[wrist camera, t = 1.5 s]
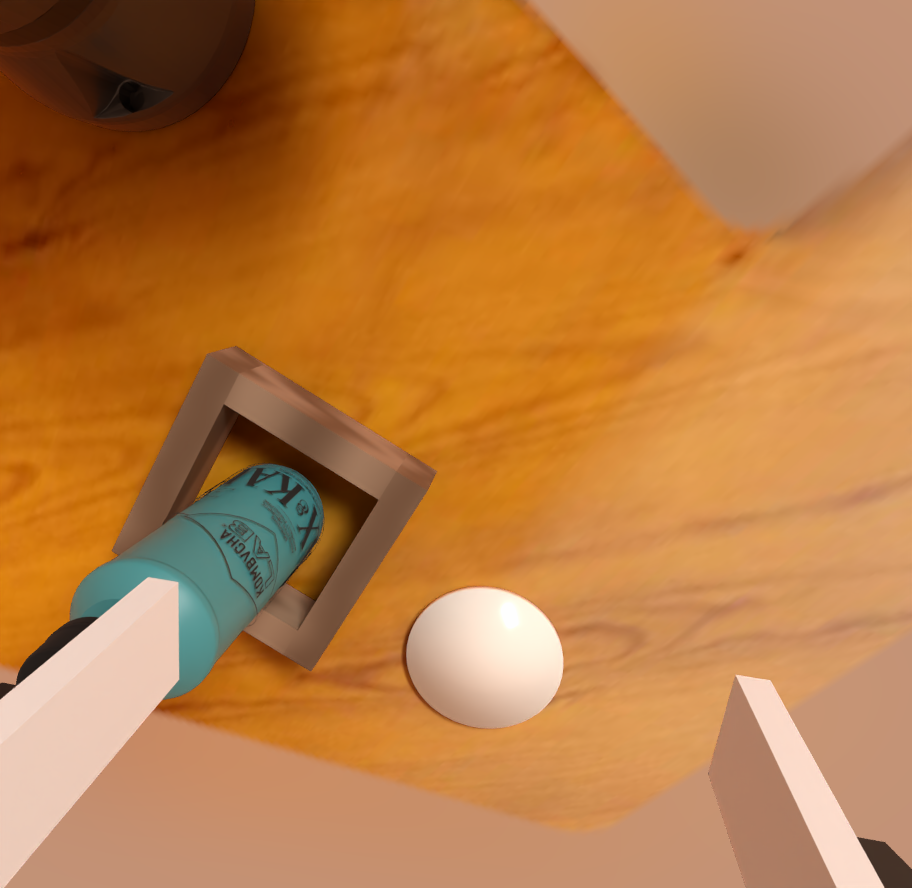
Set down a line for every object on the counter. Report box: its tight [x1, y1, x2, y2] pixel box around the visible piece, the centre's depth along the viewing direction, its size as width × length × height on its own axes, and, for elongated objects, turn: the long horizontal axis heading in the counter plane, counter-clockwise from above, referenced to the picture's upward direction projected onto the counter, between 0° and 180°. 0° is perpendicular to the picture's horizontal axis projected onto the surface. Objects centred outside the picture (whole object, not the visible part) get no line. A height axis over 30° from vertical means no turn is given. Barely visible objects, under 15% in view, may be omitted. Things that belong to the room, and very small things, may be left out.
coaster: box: [406, 586, 563, 729], centre depth 42 cm, size 10×10×1 cm
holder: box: [112, 346, 437, 671], centre depth 39 cm, size 14×14×4 cm
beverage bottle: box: [16, 463, 324, 700], centre depth 32 cm, size 6×7×20 cm
